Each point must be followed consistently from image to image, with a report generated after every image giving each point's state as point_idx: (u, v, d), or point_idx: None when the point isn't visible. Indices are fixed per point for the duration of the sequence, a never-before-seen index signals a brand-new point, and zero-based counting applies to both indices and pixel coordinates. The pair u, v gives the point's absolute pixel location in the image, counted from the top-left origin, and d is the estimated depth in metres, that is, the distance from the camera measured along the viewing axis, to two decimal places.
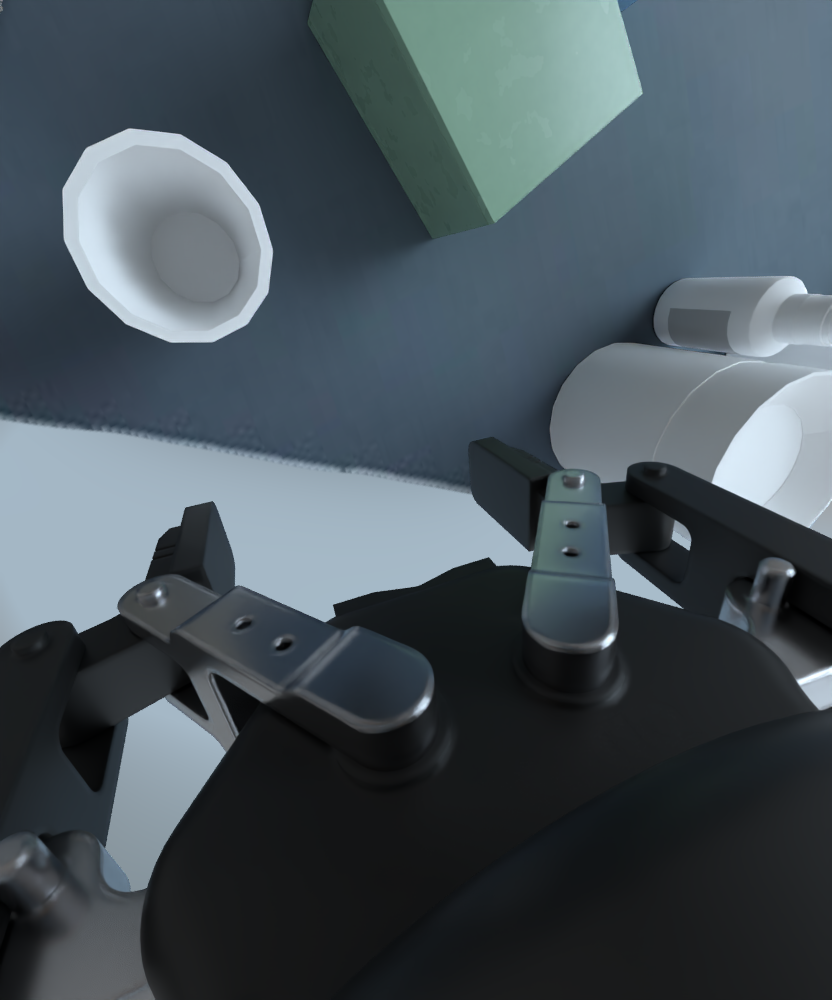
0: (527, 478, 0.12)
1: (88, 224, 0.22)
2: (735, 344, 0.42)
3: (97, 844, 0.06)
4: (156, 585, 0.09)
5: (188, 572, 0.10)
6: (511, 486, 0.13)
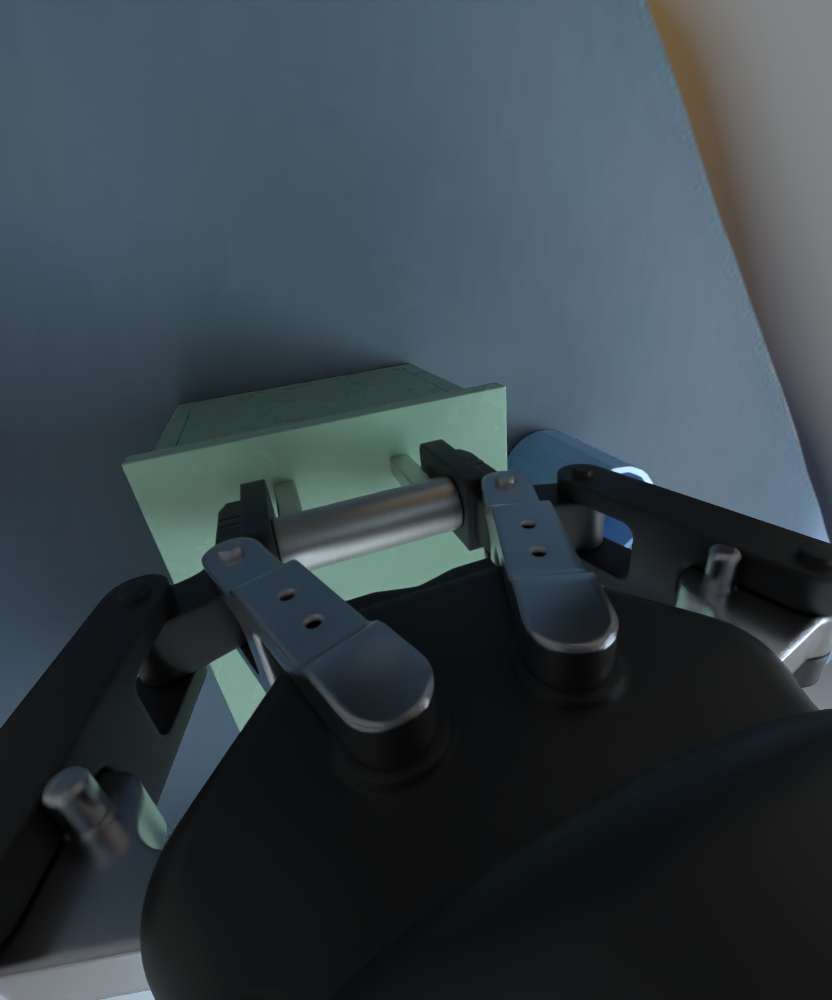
0: (463, 480, 0.12)
1: None
2: None
3: (140, 791, 0.06)
4: (234, 545, 0.10)
5: (257, 536, 0.11)
6: None
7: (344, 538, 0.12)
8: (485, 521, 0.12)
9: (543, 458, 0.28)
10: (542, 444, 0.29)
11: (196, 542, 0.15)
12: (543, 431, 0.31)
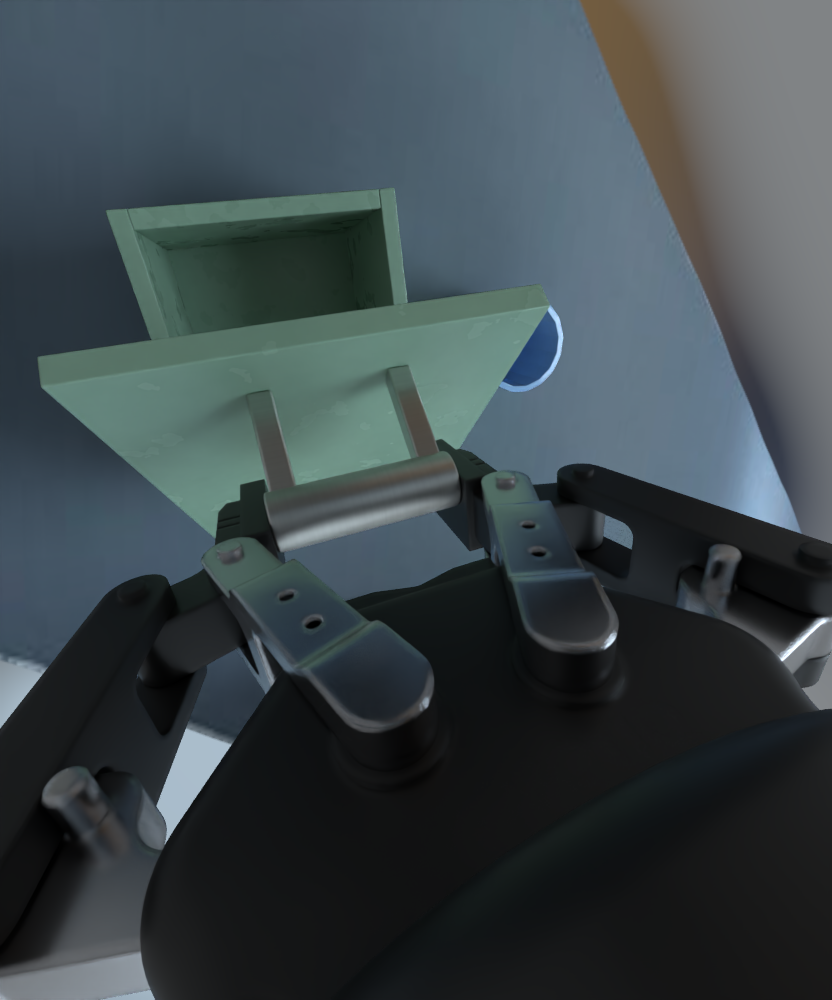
0: (463, 480, 0.12)
1: None
2: None
3: (140, 792, 0.06)
4: (234, 546, 0.10)
5: (257, 536, 0.11)
6: None
7: (342, 531, 0.12)
8: (485, 521, 0.12)
9: None
10: None
11: (151, 437, 0.13)
12: None
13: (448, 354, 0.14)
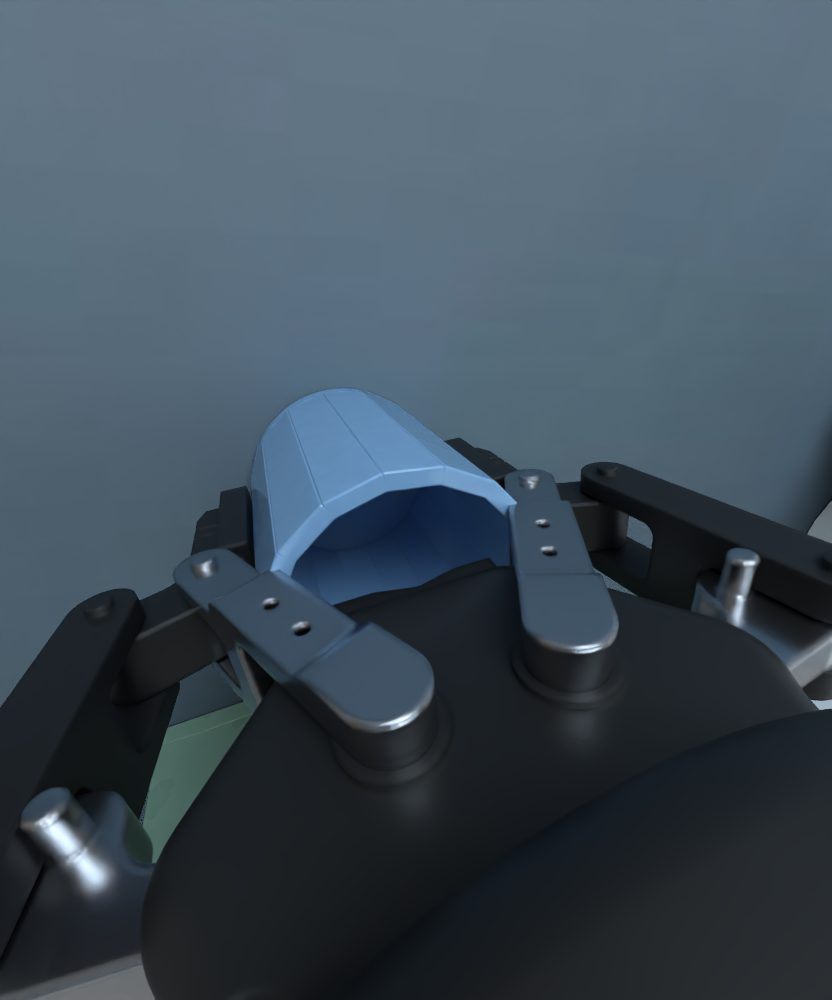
0: None
1: None
2: None
3: (125, 809, 0.06)
4: (207, 558, 0.09)
5: (233, 548, 0.10)
6: None
7: None
8: None
9: None
10: None
11: None
12: None
13: None
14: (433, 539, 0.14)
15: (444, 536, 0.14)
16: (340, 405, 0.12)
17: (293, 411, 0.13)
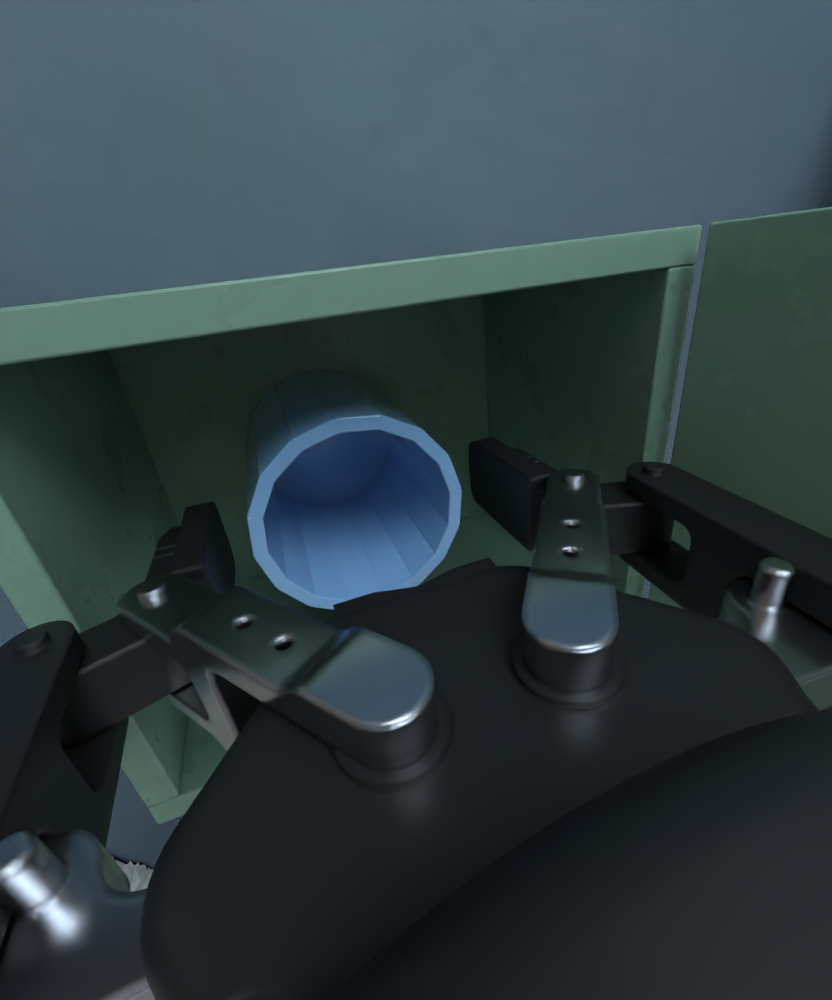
0: (527, 478, 0.12)
1: None
2: None
3: (97, 844, 0.06)
4: (156, 585, 0.09)
5: (188, 572, 0.10)
6: (511, 486, 0.13)
7: None
8: None
9: None
10: None
11: None
12: None
13: None
14: (395, 492, 0.18)
15: (403, 488, 0.17)
16: (315, 380, 0.16)
17: (279, 386, 0.17)
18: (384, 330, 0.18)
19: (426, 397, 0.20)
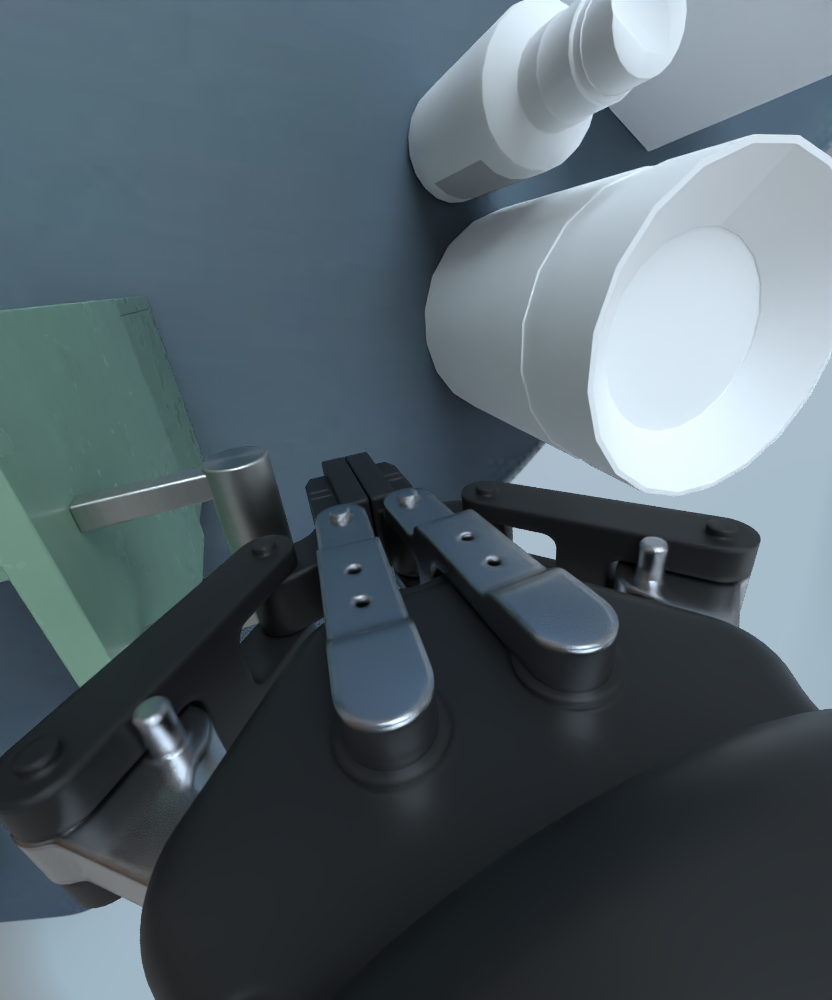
0: (369, 497, 0.12)
1: None
2: (531, 176, 0.25)
3: (209, 737, 0.07)
4: (343, 511, 0.10)
5: (357, 504, 0.11)
6: None
7: None
8: (390, 540, 0.11)
9: None
10: None
11: None
12: None
13: (38, 457, 0.09)
14: None
15: None
16: None
17: None
18: None
19: None
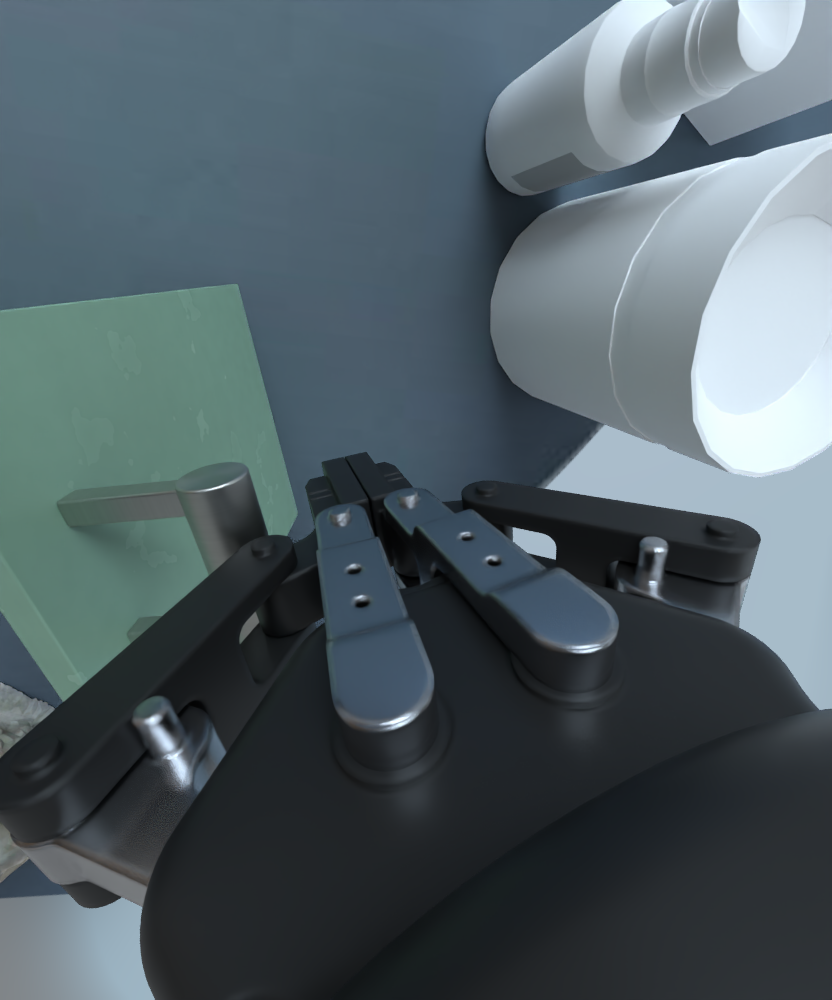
0: (369, 497, 0.12)
1: None
2: (618, 168, 0.26)
3: (209, 737, 0.07)
4: (343, 511, 0.10)
5: (357, 504, 0.11)
6: None
7: None
8: (390, 540, 0.11)
9: None
10: None
11: None
12: None
13: (23, 454, 0.10)
14: None
15: None
16: None
17: None
18: None
19: None
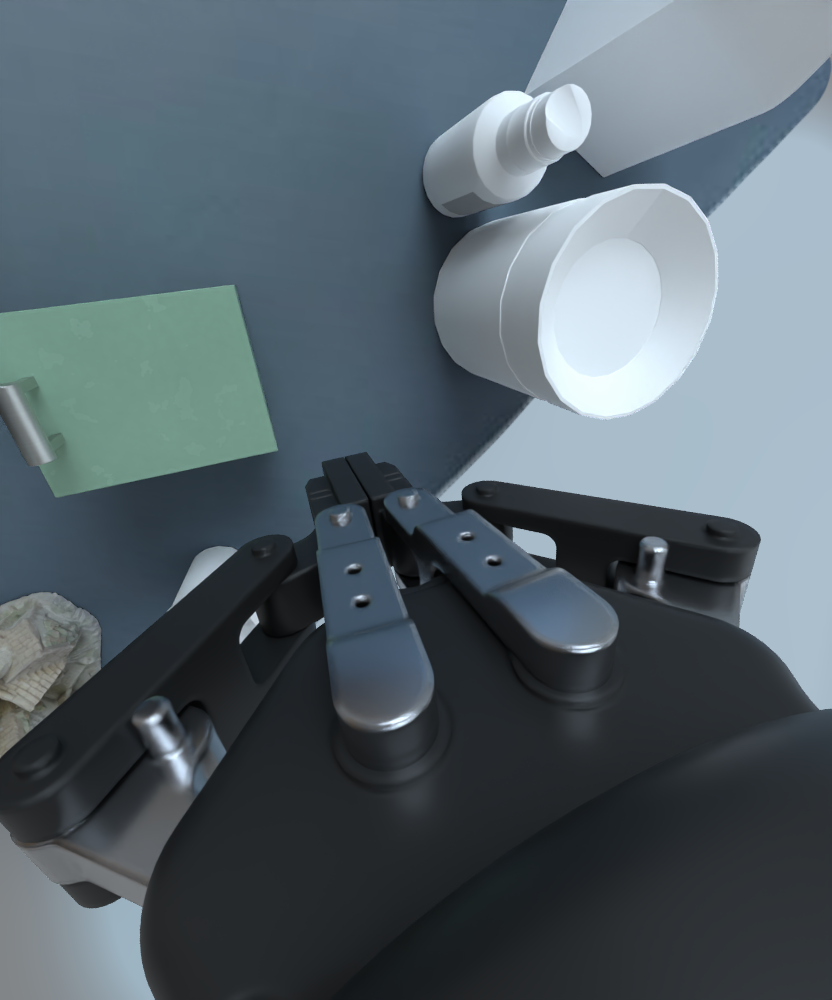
0: (369, 497, 0.12)
1: None
2: (508, 202, 0.37)
3: (209, 737, 0.07)
4: (343, 511, 0.10)
5: (357, 504, 0.11)
6: None
7: (21, 441, 0.28)
8: (390, 540, 0.11)
9: None
10: None
11: (94, 475, 0.34)
12: None
13: (11, 359, 0.30)
14: None
15: None
16: None
17: None
18: None
19: None
